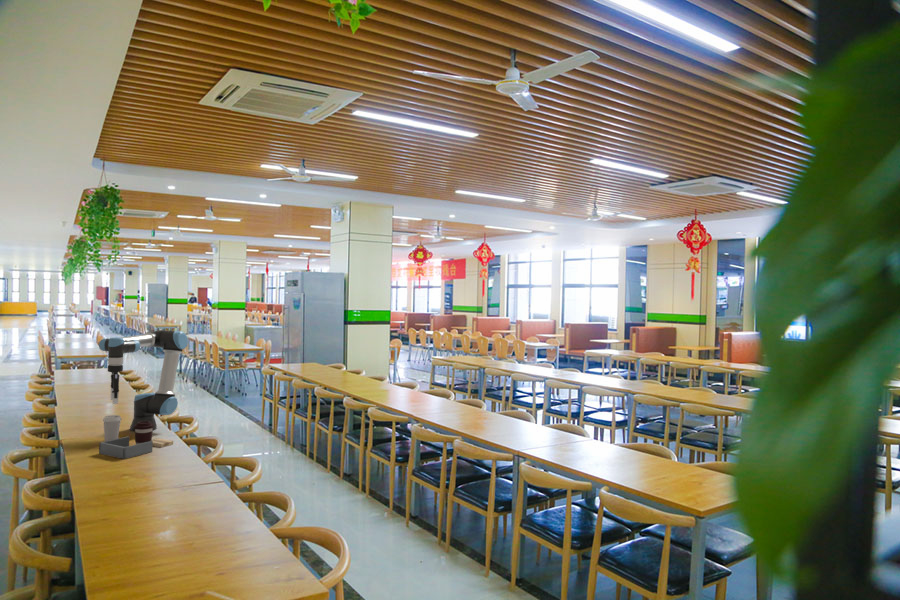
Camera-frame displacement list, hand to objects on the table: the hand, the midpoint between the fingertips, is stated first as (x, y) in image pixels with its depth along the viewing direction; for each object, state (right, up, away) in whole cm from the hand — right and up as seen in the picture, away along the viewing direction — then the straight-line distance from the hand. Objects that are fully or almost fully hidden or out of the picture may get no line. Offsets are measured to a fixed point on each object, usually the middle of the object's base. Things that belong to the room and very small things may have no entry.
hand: (114, 401), depth 329 cm
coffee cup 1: (-7, -25, +9) cm, 28 cm away
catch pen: (+13, -26, -12) cm, 32 cm away
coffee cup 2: (+18, -26, -2) cm, 32 cm away
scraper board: (+22, -27, +8) cm, 36 cm away
